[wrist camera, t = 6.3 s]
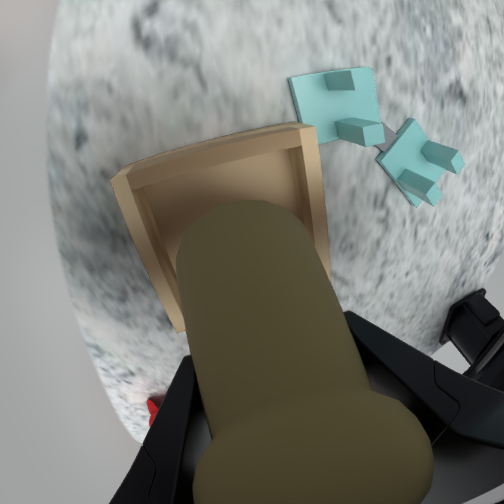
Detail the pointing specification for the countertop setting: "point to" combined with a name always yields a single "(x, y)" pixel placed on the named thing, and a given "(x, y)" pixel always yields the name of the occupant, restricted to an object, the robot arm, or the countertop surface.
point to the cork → (286, 373)
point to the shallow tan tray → (219, 194)
